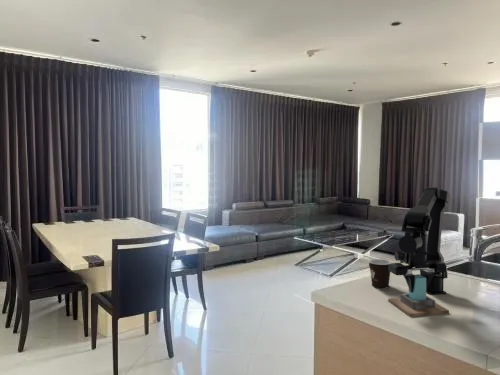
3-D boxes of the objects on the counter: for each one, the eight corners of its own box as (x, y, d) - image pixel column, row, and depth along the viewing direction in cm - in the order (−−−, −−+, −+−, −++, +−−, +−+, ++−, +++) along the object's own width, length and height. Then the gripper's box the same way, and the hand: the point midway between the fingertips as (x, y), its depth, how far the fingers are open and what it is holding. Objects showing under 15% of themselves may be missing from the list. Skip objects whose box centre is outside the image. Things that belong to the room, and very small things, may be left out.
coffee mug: (393, 289, 149) (393, 265, 148) (370, 288, 150) (370, 264, 150) (388, 280, 160) (388, 257, 159) (367, 279, 162) (367, 257, 161)
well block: (423, 298, 139) (423, 289, 138) (448, 313, 125) (449, 303, 125) (388, 301, 137) (388, 292, 136) (409, 316, 123) (409, 306, 123)
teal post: (419, 296, 133) (419, 274, 132) (426, 300, 129) (426, 277, 128) (408, 297, 132) (408, 275, 132) (415, 301, 128) (415, 278, 128)
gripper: (428, 241, 139) (427, 282, 140) (380, 244, 136) (380, 286, 137) (448, 247, 128) (447, 292, 129) (396, 251, 125) (396, 297, 126)
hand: (417, 291), depth 130 cm, fingers closed on teal post, 4 cm apart
